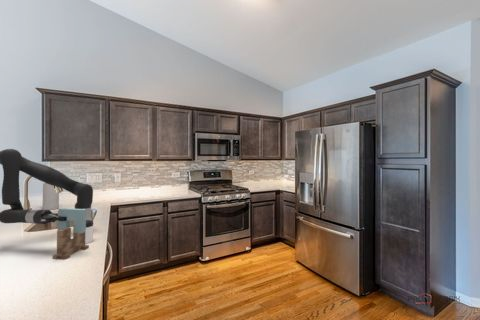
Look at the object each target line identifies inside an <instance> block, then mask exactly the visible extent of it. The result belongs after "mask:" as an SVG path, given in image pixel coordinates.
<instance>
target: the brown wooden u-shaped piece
mask: <svg viewBox="0 0 480 320" xmlns="http://www.w3.org/2000/svg"><path fill="white" fill-rule="evenodd" d="M72 228H73V229H72ZM72 233H73V234H72ZM72 235H73V236H72ZM87 249H90V245H89V244H85V232H84V233H74V224H73V227H70V228H64V229H61V230H58V229H57V230H56V253H54V254H52V257H51V258H52V259H54V260H67V259H69V258H71V255H73V254H74V253H77V252H79V251H82V250H83V251H84V250H87Z"/></svg>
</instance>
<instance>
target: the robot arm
mask: <svg viewBox="0 0 480 320" xmlns="http://www.w3.org/2000/svg"><path fill="white" fill-rule="evenodd" d="M0 165H1V166H2V171H3V178H2V185H1V202H2V204H3V205H5V206H10V208H9V209H5V210H2V211H0V223H3V224H15V223H16V224H17V223H23V224H25V223H26V224H32V225H48V224H50V223H55V222H57V223H58V221H67V217H61V216H60V217H59V216H58V213H56V212H52V210H43V209H28V208H27V209H24V206H23V204H22V202H21V196H20V192H21V191H20V172H22V173H25V174H26V175H29V176H30V177H32V178H33V179H36V180H39V181H40V182H42V183H47V184H50V185H53V186H56V187H59V189H63V190H66V191H67V192H69V193H71V194H73V195H75V197H76V203H74V209H86V220H92V221H93V219H92V204H93V199H94V189H93V187H92V185H90V184H88V183H83V182H79V181H76V180H75V179H71V178H70V177H68V176H67V175H66V174H64V173H63V172H61V171H59V170H57V169H55V168H53V167H50V166H48V165H45V164H42V163H40V162H36V161H31V160H30V159H28V158H25V156H22V154H21V152H20V151H18V149H17V150H16V149H14V148H6V149H3V150H0Z"/></svg>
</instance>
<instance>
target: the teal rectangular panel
mask: <svg viewBox="0 0 480 320" xmlns="http://www.w3.org/2000/svg"><path fill="white" fill-rule="evenodd" d="M57 212H58V213H57V214H58V216H59V217H60V216H61V217H67V221H58V222H57V231H58V230H61V229H64V228H71V222H73V225H74V233H84V232H86V209H75V208H72V207H70V208H69V207H67V208H66V207H61V208H60V207H59V208H58V209H57Z"/></svg>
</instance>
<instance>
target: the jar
mask: <svg viewBox="0 0 480 320" xmlns="http://www.w3.org/2000/svg"><path fill="white" fill-rule="evenodd" d="M93 240H94V220H93V219H92V220H86V232H85V245H87V244H89V243H93V242H94V241H93Z"/></svg>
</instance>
